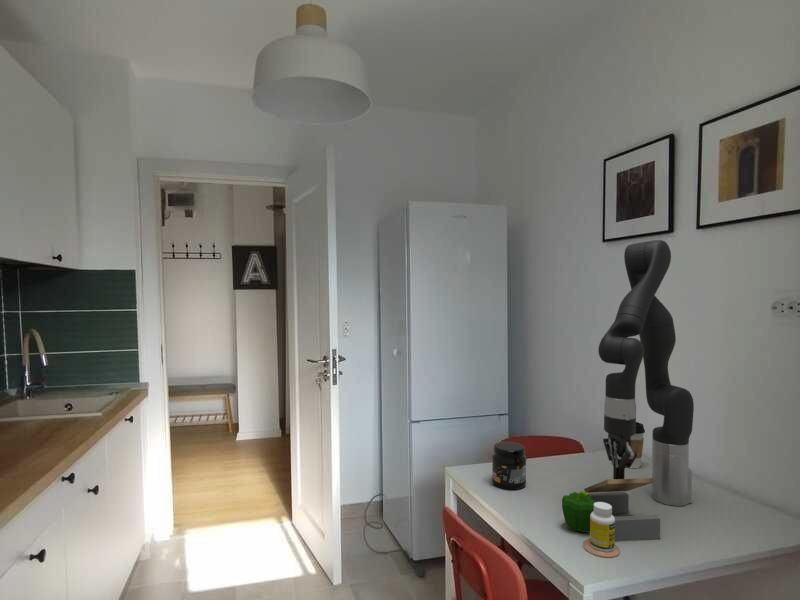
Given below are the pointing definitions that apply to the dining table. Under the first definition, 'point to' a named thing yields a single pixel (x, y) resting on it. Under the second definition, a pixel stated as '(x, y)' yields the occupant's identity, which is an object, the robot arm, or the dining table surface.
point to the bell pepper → (578, 510)
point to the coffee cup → (637, 444)
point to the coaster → (600, 553)
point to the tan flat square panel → (618, 485)
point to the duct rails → (629, 518)
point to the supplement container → (509, 465)
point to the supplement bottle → (602, 527)
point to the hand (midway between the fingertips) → (618, 480)
